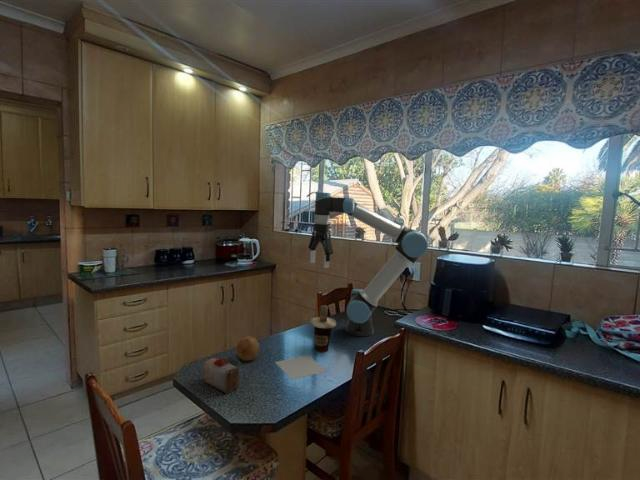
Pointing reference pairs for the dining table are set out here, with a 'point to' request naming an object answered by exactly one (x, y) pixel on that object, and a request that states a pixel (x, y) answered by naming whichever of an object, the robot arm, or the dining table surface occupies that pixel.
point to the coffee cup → (322, 338)
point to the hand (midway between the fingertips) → (319, 265)
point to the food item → (221, 374)
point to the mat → (300, 367)
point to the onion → (248, 348)
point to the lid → (323, 319)
